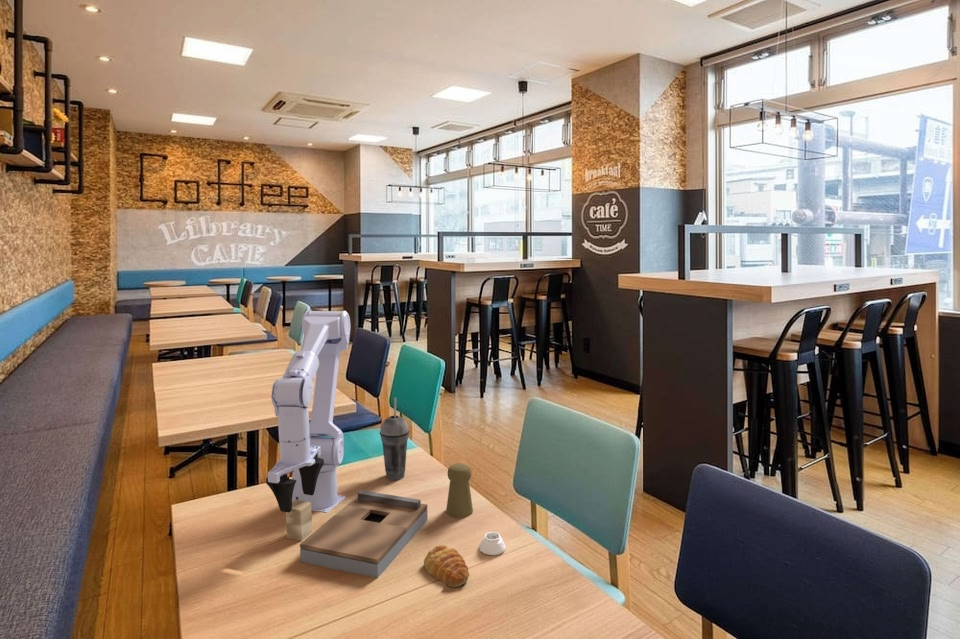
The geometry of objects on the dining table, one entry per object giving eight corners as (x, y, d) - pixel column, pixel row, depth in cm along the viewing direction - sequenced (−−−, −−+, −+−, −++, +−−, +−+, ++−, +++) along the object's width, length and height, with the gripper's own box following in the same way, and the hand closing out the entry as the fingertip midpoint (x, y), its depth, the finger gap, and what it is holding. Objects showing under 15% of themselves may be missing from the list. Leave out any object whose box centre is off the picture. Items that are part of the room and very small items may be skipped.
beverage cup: (376, 481, 146) (374, 402, 143) (386, 469, 153) (384, 394, 150) (405, 483, 145) (403, 404, 142) (413, 471, 152) (412, 395, 149)
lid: (300, 548, 110) (299, 536, 109) (360, 497, 130) (360, 487, 130) (377, 563, 105) (377, 551, 104) (427, 508, 125) (427, 497, 125)
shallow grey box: (300, 564, 110) (300, 549, 110) (360, 510, 131) (360, 497, 130) (377, 580, 105) (377, 564, 105) (427, 522, 126) (427, 509, 125)
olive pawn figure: (474, 507, 133) (474, 460, 131) (471, 520, 127) (471, 471, 125) (448, 506, 133) (447, 459, 131) (443, 519, 127) (443, 470, 125)
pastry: (478, 581, 105) (478, 561, 105) (446, 595, 102) (446, 574, 101) (450, 557, 113) (450, 538, 112) (419, 569, 109) (419, 550, 108)
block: (287, 540, 118) (285, 507, 117) (297, 531, 122) (296, 499, 121) (302, 543, 117) (300, 510, 116) (312, 534, 121) (311, 502, 120)
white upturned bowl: (474, 548, 116) (490, 559, 112) (474, 534, 116) (490, 545, 112) (494, 540, 119) (510, 551, 115) (494, 526, 119) (510, 537, 115)
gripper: (288, 453, 108) (292, 522, 110) (332, 427, 122) (334, 489, 124) (256, 448, 110) (260, 516, 113) (303, 423, 124) (306, 485, 126)
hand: (297, 502), depth 118 cm, fingers open, 7 cm apart
